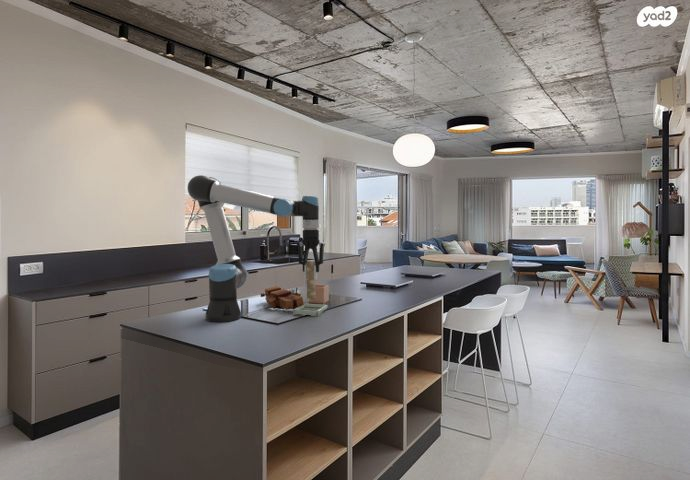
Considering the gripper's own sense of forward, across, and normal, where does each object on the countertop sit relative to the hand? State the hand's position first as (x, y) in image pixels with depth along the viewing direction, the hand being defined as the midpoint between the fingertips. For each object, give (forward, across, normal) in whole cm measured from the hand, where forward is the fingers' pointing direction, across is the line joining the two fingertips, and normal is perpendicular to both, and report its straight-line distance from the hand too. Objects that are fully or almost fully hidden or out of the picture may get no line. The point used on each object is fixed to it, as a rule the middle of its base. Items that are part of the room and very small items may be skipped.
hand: (311, 278), depth 200 cm
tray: (+16, 0, 0) cm, 16 cm away
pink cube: (+16, -3, +20) cm, 26 cm away
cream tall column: (+10, 0, 0) cm, 10 cm away
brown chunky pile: (+16, -19, +8) cm, 26 cm away
